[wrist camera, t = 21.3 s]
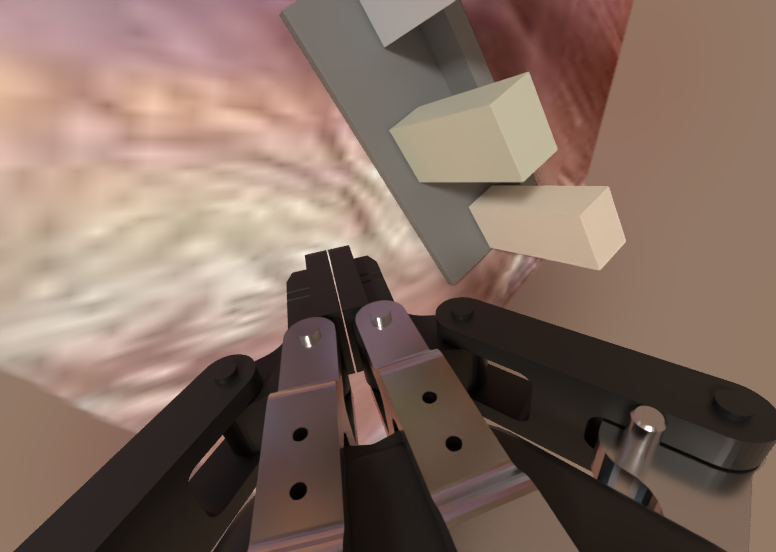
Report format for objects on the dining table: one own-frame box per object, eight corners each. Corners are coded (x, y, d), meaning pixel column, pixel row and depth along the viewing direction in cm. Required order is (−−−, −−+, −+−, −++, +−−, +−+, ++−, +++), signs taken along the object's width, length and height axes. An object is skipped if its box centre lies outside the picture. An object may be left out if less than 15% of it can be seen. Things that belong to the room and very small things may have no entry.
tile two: (419, 182, 40) (523, 182, 28) (389, 130, 37) (489, 104, 25) (448, 157, 41) (561, 146, 29) (421, 104, 38) (532, 68, 26)
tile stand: (448, 283, 46) (476, 294, 42) (279, 15, 32) (295, -11, 28) (518, 215, 49) (551, 218, 45) (392, -58, 35) (422, -92, 31)
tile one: (489, 247, 46) (599, 270, 34) (468, 207, 44) (579, 216, 31) (513, 224, 47) (628, 238, 35) (494, 183, 44) (611, 183, 32)
